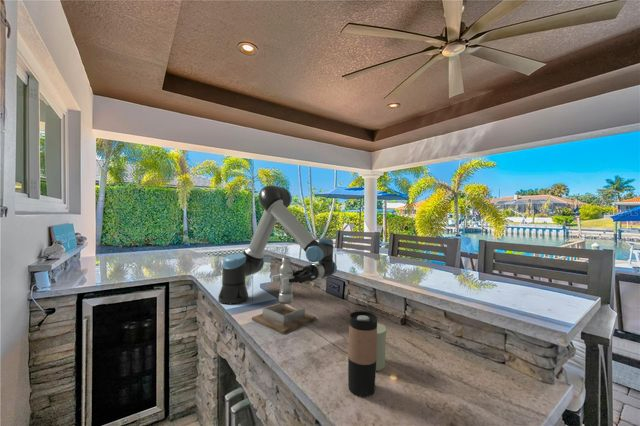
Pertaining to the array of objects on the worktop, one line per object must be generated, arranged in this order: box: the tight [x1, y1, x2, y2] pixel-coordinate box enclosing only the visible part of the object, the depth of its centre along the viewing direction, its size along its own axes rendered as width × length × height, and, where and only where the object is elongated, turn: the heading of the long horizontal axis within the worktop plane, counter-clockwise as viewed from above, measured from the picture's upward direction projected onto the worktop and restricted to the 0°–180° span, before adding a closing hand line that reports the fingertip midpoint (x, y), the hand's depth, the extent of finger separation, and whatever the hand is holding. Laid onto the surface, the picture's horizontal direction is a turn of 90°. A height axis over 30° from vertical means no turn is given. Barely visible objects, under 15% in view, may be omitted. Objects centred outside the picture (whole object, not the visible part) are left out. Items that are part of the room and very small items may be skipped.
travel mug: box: [347, 310, 378, 398], centre depth 76 cm, size 8×8×20 cm
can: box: [376, 322, 387, 372], centre depth 89 cm, size 9×9×12 cm
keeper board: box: [251, 305, 317, 335], centre depth 122 cm, size 20×20×1 cm
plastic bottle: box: [277, 256, 294, 305], centre depth 122 cm, size 6×7×20 cm
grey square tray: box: [262, 302, 306, 326], centre depth 122 cm, size 13×13×4 cm
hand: (277, 280), depth 118 cm, fingers closed on plastic bottle, 6 cm apart
